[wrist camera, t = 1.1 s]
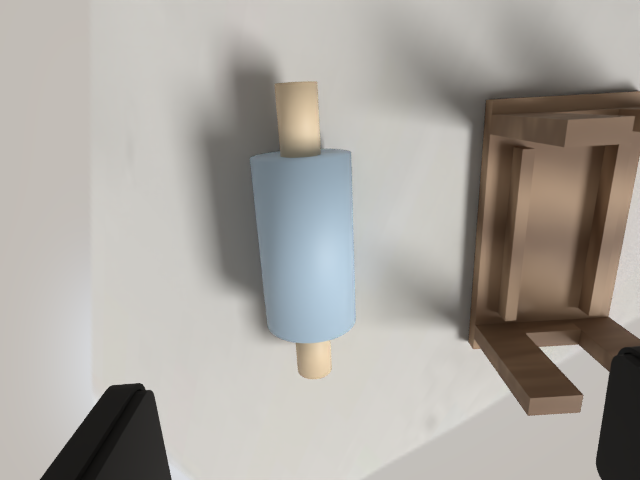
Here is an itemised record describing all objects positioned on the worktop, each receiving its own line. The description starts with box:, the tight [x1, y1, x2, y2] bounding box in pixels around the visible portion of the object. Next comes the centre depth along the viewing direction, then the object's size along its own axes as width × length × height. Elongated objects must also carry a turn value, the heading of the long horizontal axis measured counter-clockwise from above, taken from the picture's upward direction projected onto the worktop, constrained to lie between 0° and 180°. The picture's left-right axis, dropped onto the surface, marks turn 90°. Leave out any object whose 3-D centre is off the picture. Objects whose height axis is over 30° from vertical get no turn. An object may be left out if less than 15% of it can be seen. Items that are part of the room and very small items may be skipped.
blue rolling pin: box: [250, 82, 356, 379], centre depth 26 cm, size 19×6×6 cm, turn 3°
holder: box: [468, 91, 640, 416], centre depth 25 cm, size 18×10×9 cm, turn 3°
